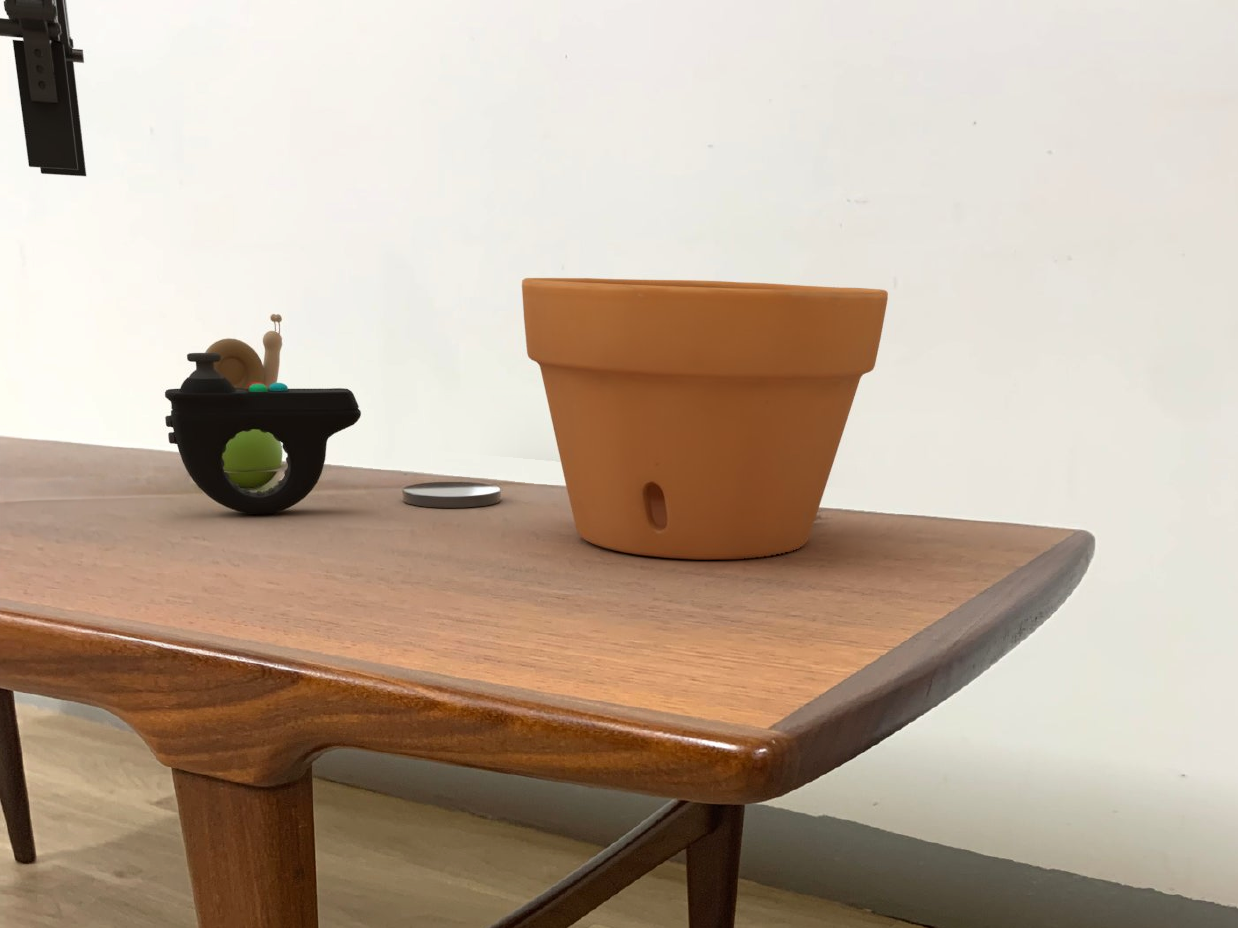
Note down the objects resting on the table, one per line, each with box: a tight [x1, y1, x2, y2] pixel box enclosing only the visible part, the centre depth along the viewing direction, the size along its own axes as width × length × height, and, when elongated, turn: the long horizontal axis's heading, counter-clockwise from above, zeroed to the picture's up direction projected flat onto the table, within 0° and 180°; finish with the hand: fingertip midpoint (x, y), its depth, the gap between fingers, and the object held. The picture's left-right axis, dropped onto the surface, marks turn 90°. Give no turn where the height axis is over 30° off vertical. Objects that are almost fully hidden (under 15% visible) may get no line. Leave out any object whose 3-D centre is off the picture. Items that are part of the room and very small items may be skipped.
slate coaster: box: [401, 481, 502, 509], centre depth 94 cm, size 7×7×1 cm
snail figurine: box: [204, 313, 283, 490], centre depth 95 cm, size 5×6×12 cm
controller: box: [164, 352, 362, 515], centre depth 86 cm, size 4×12×10 cm, turn 108°
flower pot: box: [521, 277, 889, 560], centre depth 79 cm, size 21×21×15 cm
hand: (58, 170), depth 82 cm, fingers open, 7 cm apart
